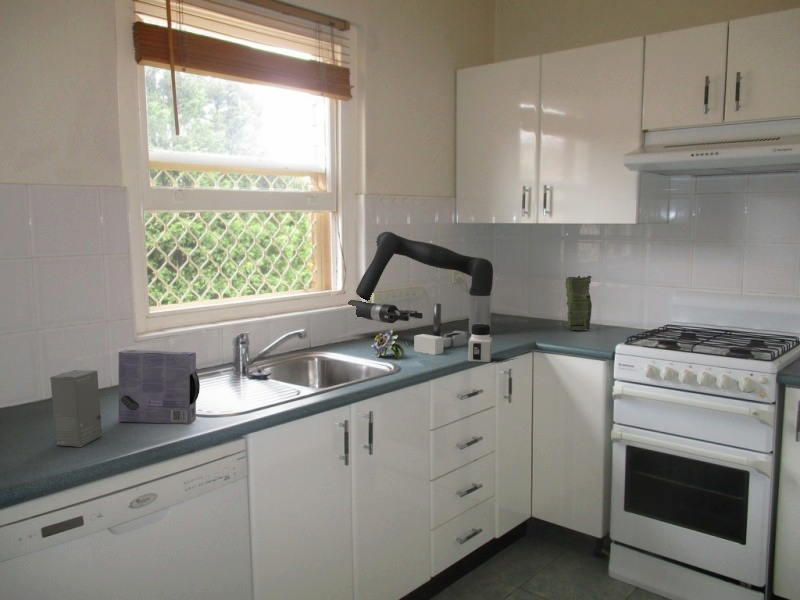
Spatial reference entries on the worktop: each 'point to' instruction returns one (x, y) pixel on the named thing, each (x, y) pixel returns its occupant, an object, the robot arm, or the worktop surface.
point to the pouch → (578, 302)
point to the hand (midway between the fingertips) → (415, 317)
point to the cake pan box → (157, 386)
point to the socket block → (428, 344)
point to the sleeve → (458, 338)
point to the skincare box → (76, 407)
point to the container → (480, 343)
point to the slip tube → (437, 326)
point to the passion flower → (387, 344)
